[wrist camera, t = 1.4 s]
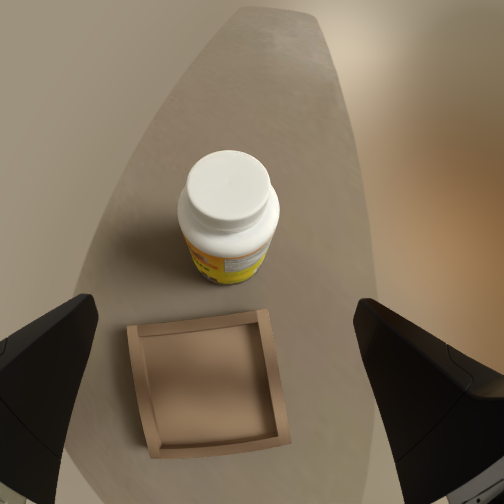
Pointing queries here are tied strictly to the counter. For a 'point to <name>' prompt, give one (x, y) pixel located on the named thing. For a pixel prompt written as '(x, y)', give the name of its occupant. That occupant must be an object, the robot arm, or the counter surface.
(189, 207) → the supplement bottle
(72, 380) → the robot arm
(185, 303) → the counter surface
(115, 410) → the counter surface
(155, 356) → the walnut tray
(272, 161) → the counter surface
